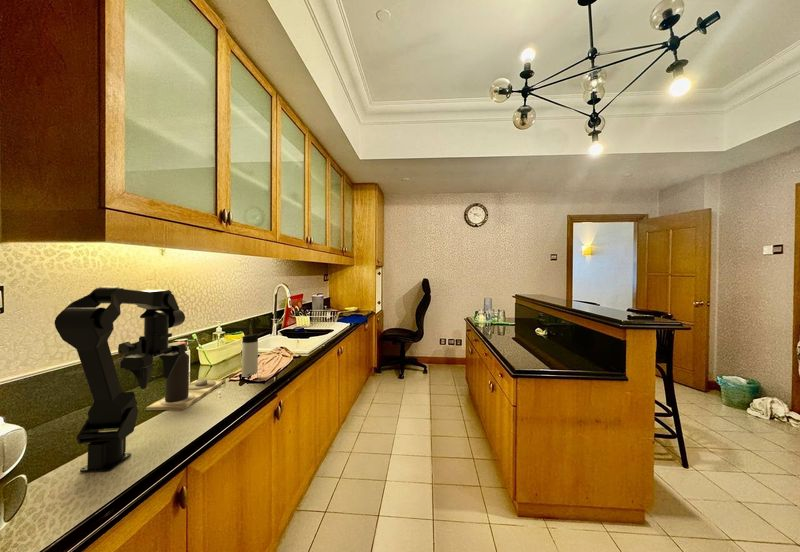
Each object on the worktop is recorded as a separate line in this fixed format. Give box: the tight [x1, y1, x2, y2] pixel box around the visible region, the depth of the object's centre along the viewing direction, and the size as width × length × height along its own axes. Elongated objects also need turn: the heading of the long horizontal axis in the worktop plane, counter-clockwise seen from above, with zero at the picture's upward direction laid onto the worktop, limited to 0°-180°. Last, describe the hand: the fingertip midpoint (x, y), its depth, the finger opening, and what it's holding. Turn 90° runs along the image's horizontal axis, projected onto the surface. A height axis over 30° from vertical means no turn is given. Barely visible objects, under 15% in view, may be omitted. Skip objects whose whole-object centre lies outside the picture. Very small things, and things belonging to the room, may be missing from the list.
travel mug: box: [241, 333, 259, 378], centre depth 132 cm, size 6×7×20 cm
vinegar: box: [164, 341, 190, 402], centre depth 106 cm, size 7×7×20 cm
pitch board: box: [145, 378, 226, 411], centre depth 114 cm, size 27×12×3 cm, turn 4°
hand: (155, 383), depth 89 cm, fingers open, 9 cm apart
